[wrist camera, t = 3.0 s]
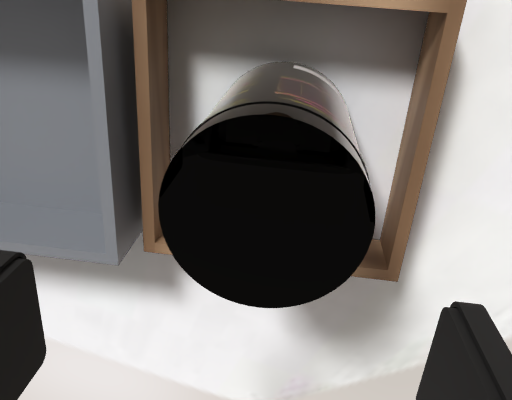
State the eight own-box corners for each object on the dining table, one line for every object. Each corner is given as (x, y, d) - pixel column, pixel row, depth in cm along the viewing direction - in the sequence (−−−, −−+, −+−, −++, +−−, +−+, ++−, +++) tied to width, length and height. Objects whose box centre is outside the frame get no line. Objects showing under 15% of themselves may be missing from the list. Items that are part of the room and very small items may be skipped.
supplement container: (200, 155, 25) (131, 261, 15) (248, 34, 22) (200, 72, 12) (313, 205, 25) (313, 337, 16) (375, 93, 22) (421, 174, 13)
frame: (446, -5, 20) (467, -3, 17) (388, 250, 26) (397, 281, 23) (153, -27, 21) (130, -28, 18) (161, 224, 27) (143, 251, 24)
